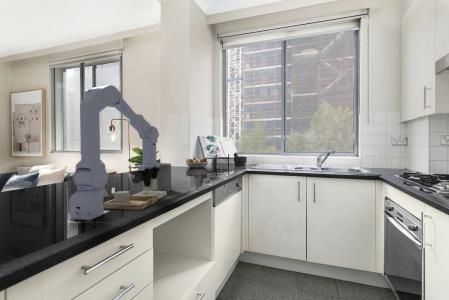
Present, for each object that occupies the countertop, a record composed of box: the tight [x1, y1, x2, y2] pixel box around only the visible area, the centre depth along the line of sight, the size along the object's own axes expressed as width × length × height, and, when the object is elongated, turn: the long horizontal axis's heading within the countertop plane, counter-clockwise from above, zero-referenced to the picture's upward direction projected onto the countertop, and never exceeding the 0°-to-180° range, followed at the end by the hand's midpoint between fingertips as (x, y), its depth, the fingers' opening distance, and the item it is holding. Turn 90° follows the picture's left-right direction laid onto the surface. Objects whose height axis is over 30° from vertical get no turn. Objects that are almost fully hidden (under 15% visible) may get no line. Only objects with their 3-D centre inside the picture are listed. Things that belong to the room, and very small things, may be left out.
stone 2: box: [142, 178, 157, 191], centre depth 104 cm, size 4×4×4 cm
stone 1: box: [113, 190, 131, 204], centre depth 92 cm, size 4×4×4 cm
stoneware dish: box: [131, 190, 168, 200], centre depth 104 cm, size 11×11×2 cm
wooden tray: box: [103, 194, 159, 211], centre depth 92 cm, size 14×15×2 cm
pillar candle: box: [151, 162, 172, 193], centre depth 119 cm, size 10×10×15 cm
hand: (149, 185), depth 104 cm, fingers closed on stone 2, 4 cm apart
